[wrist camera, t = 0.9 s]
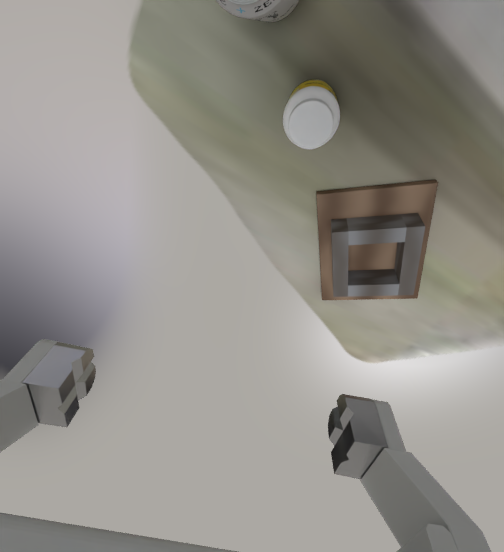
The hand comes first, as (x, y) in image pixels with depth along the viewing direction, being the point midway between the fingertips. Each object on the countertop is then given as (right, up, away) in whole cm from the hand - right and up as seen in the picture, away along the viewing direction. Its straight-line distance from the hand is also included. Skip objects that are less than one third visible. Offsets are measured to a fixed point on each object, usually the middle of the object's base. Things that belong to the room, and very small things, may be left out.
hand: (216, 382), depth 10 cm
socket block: (+18, +8, +34) cm, 39 cm away
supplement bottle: (+8, +23, +25) cm, 35 cm away
